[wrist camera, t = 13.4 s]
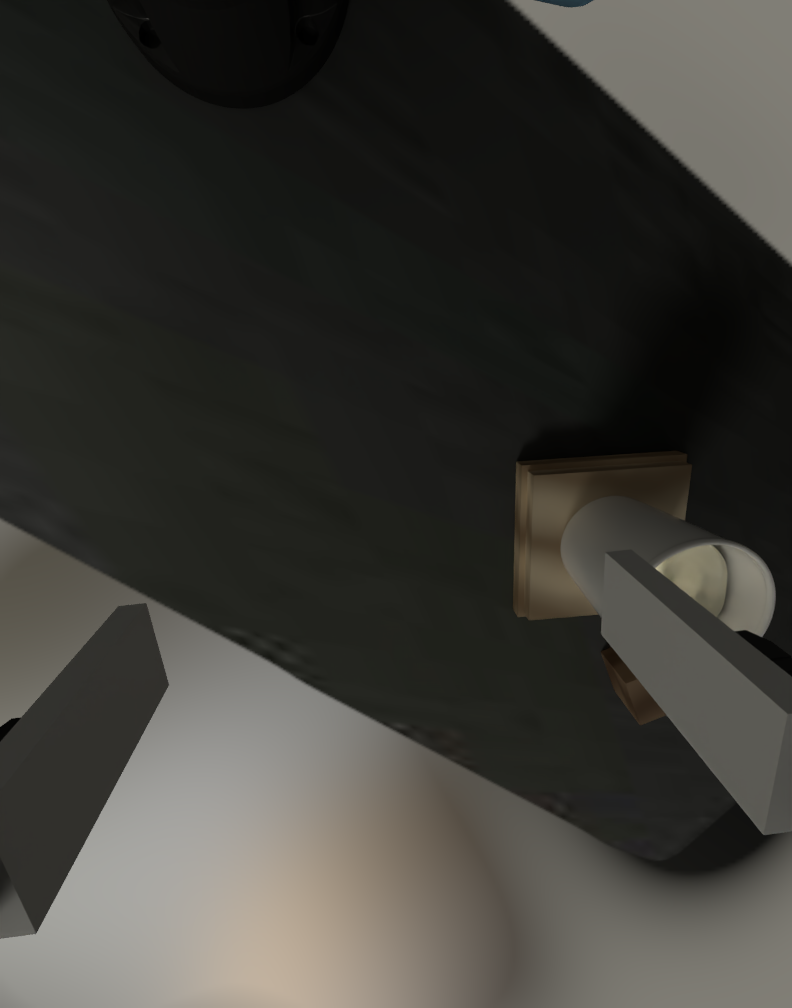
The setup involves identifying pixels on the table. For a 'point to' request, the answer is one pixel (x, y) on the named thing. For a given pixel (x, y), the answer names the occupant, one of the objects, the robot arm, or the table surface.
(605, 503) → the candle holder
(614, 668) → the walnut block
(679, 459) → the stand
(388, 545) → the table surface
